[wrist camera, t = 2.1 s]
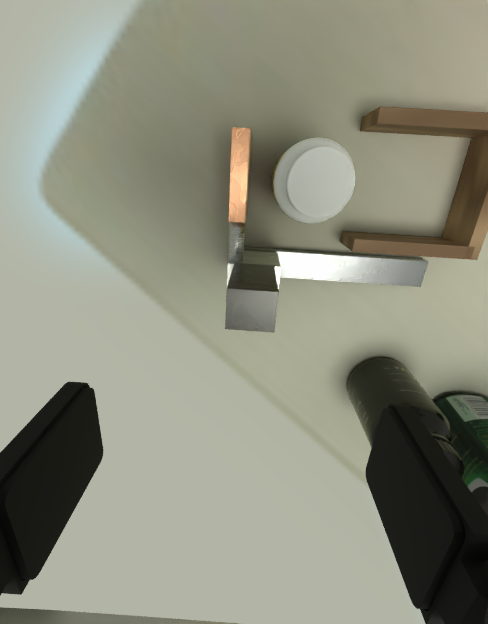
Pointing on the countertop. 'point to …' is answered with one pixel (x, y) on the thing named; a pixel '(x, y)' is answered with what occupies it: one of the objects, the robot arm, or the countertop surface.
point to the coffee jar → (470, 439)
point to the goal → (469, 194)
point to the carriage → (247, 253)
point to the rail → (349, 267)
